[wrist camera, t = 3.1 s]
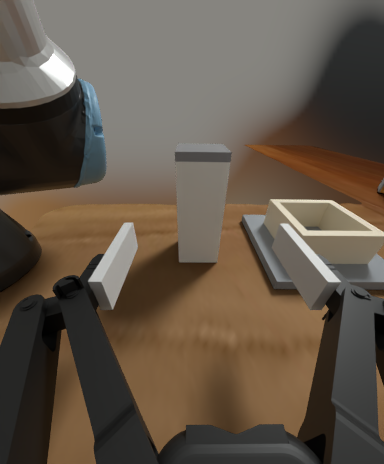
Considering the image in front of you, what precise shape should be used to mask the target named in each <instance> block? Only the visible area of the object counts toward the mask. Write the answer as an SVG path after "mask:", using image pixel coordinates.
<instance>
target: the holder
mask: <svg viewBox="0 0 384 464" xmlns="http://www.w3.org/2000/svg"><path fill="white" fill-rule="evenodd" d="M242 223H243V225H244V227H245V229H246V231H247V233H248V235H249V237H250V240H251V242H252V244H253V246H254V248H255V250H256V252H257V254H258V256H259V259H260V261H261V263H262V265H263V267H264V269H265V271H266V273H267V275H268V278H269V280H270V282H271V284H272V286H273V288H274V289H297V288H296V286H295V285H294V283H293V281H292V280H291V278H290V277H289V275H288V273H287V272H286V270H285V268H284V267H283V265H282V264H281V262H280V260H279V259H278V257H277V255H276V254H275V252H274V251H273V249H272V245H273V242H274V239H275V236H276V233H277V230H278V227H279V224H289V225H290V226H291V227H292V228H293V229H294V231H295V232H296V233H297V234H298V235H299V236H300V237H301V238H302V239H303V240H304V242H305V243H306V244H307V245H308V246H309V247H310V248H311V249H312V250H313V252H314V253H315V254H320V255H321V256H323V257H324V258H326V259H327V260H328V261H329V262H330V263H331V264H332V265H333V266H334V267H335V268H336V270H338V271H339V273H340V274H341V275H342V276H343V277H344V278H345V279H346V280H347V281H348V282H349V283H350V284H351V285H355V286H358V287H360V288H362V289H368V290H384V259H382V258H381V257H380V256H379V255H377V254H376V253H377V252H378V251H379V250H380V248H381V247H382V246H383V245H384V232H382V231H381V230H379V229H378V228H376V227H374V226H373V225H371V224H369V223H368V222H366V221H365V220H363V219H361V218H360V217H358V216H356V215H355V214H353V213H352V212H350V211H348V210H347V209H345V208H344V207H342V206H340V205H339V204H337V203H335V202H334V201H332V200H270V202H269V205H268V209H267V212H266V215H243V217H242Z"/></svg>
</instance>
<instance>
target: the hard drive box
mask: <svg viewBox="0 0 384 464" xmlns="http://www.w3.org/2000/svg"><path fill="white" fill-rule="evenodd" d="M378 192H379V193H384V179H383V180H382V182H381V183H380V185H379V186H378Z"/></svg>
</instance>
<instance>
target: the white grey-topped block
mask: <svg viewBox="0 0 384 464" xmlns="http://www.w3.org/2000/svg"><path fill="white" fill-rule="evenodd" d="M230 161H231V151H229V149H228V148H226V147H225V146H224V145H223V144H178V146H177V148H176V150H175V165H176V193H177V220H178V248H179V262H209V263H217V260H218V253H219V245H220V237H221V230H222V222H223V215H224V207H225V199H226V192H227V184H228V177H229V176H228V175H229V169H230Z"/></svg>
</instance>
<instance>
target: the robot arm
mask: <svg viewBox="0 0 384 464" xmlns="http://www.w3.org/2000/svg"><path fill="white" fill-rule="evenodd" d="M102 131H103V129H102V119H101V114H100V109H99V104H98V100H97V96H96V93H95V90H94V88H93V86H92V85H91V84H90V83H88V82H85V81H84V80H81V79H77V75H76V71H75V68H74V65H73V63H72V61H71V60H70V58H69V57H68V55H67V54H66V53H64V52H63V51H62V50H61V49H60V48H59V47H58V46H57V45H56V44H54V42H52V41H51V40H50V39H49V38H48V37H47V36H46V34H45V32H44V29H43V26H42V23H41V20H40V17H39V14H38V11H37V9H36V6H35V3H34V0H0V195H7V194H16V193H25V192H35V191H44V190H52V189H62V188H71V187H74V188H75V187H76V188H77V187H79V186H81V185H86V184H92V183H97V182H99V181H101V180H102V179H103V178H104V176H105V174H106V150H105V141H104V135H103V133H102ZM137 248H138V245H137V240H136V235H135V230H134V225H133V223H124V224H123V226H122V227H121V229H120V231H119V232H118V234H117V235H116V237H115V239H114V240H113V242H112V243H111V245H110V247H109V248H108V250H107V252H106V253H105V254H98V255H97V256H95V257H94V258H93V259H92V260H91V262H90V263H89V265H88V266H87V268H86V269H85V270H84V272H83V273H82V275H81V276H80V278H79V277H78V276H75V275H71V276H67V277H64V278H62V279H60V280H59V281H58V282H56V283H55V285H54V286H53V292H54V293H55V295H56V296H55V297H51V298H47V299H44V297H43V296H41V295H32V296H29V297H27V298H25V299H23V300H22V301H20V302H19V303H18V304H17V305H16V307H15V308H14V310H13V313H12V315H11V318H10V321H9V324H8V326H7V329H6V332H5V334H4V337H3V340H2V343H1V345H0V464H47V458H48V449H49V440H50V431H51V422H52V412H53V403H54V394H55V385H56V376H57V367H58V358H59V349H60V339H61V330H63V329H67V333H68V337H69V341H70V345H71V349H72V353H73V356H74V360H75V364H76V368H77V372H78V376H79V380H80V383H81V387H82V391H83V395H84V399H85V403H86V407H87V411H88V414H89V418H90V422H91V426H92V430H93V434H94V440H95V442H94V454H95V459H96V464H384V442H383V441H382V440H381V439H380V436H379V432H378V408H377V381H376V364H377V367H378V370H379V373H380V376H381V379H382V382H383V385H384V299H382V298H378V297H374V296H371V295H370V293H368V292H367V291H366V290H364V289H362V288H360V287H358V286H355V285H351V284H350V283H349V282H348V281H347V280H346V279H345V278H344V277H343V276H342V275H341V274H340V273H339V271H338V270H336V268H335V267H334V266H333V265H332V264H331V263H330V262H329V261H328V260H327V259H326V258H324V257H323V256H321V255H320V254H315V253H314V252H313V250H312V249H311V248H310V247H309V246H308V245H307V244H306V243H305V242H304V240H303V239H302V238H301V237H300V236H299V235H298V234H297V233H296V232H295V231H294V229H293V228H292V227H291V226H290V225H289V224H279V227H278V230H277V233H276V236H275V239H274V242H273V245H272V249H273V251H274V252H275V254H276V255H277V257H278V259H279V260H280V262H281V264H282V265H283V267H284V268H285V270H286V272H287V273H288V275H289V277H290V278H291V280H292V281H293V283H294V285H295V286H296V288H297V290H298V291H299V293H300V294H301V296H302V298H303V299H304V301H305V303H306V304H307V306H308V307H309V309H310V310H322V308H323V307H324V306H325V304H326V306H327V307H328V308H329V310H328V311H327V313H326V314H325V315H324V317H323V318H322V320H324V319H325V318H326V319H325V324H324V328H323V333H322V338H321V343H320V348H319V353H318V358H317V362H316V367H315V372H314V377H313V382H312V387H311V392H310V397H309V401H308V406H307V411H306V416H305V419H304V422H303V424H302V426H301V428H300V430H299V433H298V437H295V436H294V435H292V434H290V433H288V432H286V431H285V429H284V425H283V424H264V425H257V426H255V427H253V428H251V429H248V430H246V431H244V432H241V433H239V434H233V433H230V432H228V431H225V430H222V429H220V428H217V427H214V426H212V425H186V430H185V431H182V432H180V433H179V434H177V435H176V436H174V437H173V438H172V439H171V440H170V441H169V442H168V443H167V444H166V445H165V446H164V447H163V449H162V450H161V452H160V453H159V454H158V451H157V449H156V447H155V444H154V442H153V440H152V438H151V435H150V433H149V431H148V429H147V427H146V424H145V422H144V420H143V418H142V416H141V413H140V411H139V409H138V406H137V404H136V402H135V399H134V397H133V395H132V392H131V390H130V388H129V386H128V383H127V381H126V379H125V376H124V374H123V372H122V369H121V367H120V365H119V362H118V360H117V358H116V356H115V353H114V351H113V349H112V346H111V344H110V342H109V339H108V337H107V335H106V333H105V330H104V328H103V326H102V323H101V321H100V319H99V316H98V314H97V312H96V309H97V307H98V305H99V306H100V309H101V310H113V308H114V306H115V303H116V301H117V298H118V296H119V293H120V291H121V288H122V286H123V283H124V281H125V278H126V276H127V273H128V271H129V268H130V266H131V263H132V261H133V258H134V256H135V253H136V251H137ZM41 252H42V249H41V246H40V244H39V243H38V241H37V239H36V238H35V236H34V235H33V234H32V233H31V232H29V231H28V230H26V229H25V228H24V227H23V226H22V225H20V224H19V223H18V222H16V221H15V220H14V219H12V218H11V217H10V216H8V215H7V214H6V213H5V212H3V211H2V210H1V209H0V291H2V290H3V289H5V288H7V287H8V286H10V285H11V284H13V283H14V282H16V281H17V280H19V279H20V278H21V277H22V276H24V275H25V274H26V273H27V272H28V271H29V270H30V269H31V268H32V267H33V266H34V265H35V264H36V263H37V261H38V260H39V258H40V256H41Z"/></svg>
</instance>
